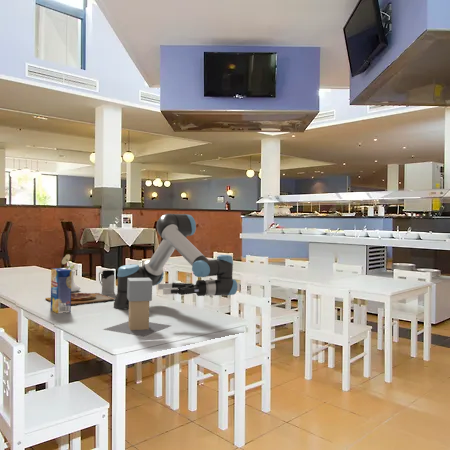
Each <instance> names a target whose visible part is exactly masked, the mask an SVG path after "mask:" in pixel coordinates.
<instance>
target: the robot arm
mask: <svg viewBox="0 0 450 450" xmlns="http://www.w3.org/2000/svg"><path fill="white" fill-rule="evenodd" d="M196 225H197V224H196V220H195V218H194V217H193V216H192V214H186V213H165V214H163V215H161V216H160V217H159V218H158V220H157V221H156V231H157V234H158V236H159V237H160V238H162V240H161V242H160V243H159V245H158V247H157V248H156V250H155V251H154V253H153V254H152V255H151V258H150V259H148V260H146V261H145V262H144V263H143V265H142V266H140V265H139V264H126V265H125V264H124V265H121V266H120V267H118V269H117V275H116V276H117V287H116V288H117V289H116V290H117V291H116V292H117V293H116V296H115V299H114V301H113V308H114V309H119V310H129V300H128V298H127V278H150V279H151V280H152V287H154V286H157V288H158V289H157V290H162V295H180V296H183V295H184V296H185V295H191V294H196V296H197V297H205V296H206V297H207V296H209V297H210V298H212V297H213V296H234V295H236V294H237V292H238V283H237V280H235V279H233V273H234V272H233V270H234V269H233V268H234V267H233V266H234V260H233V259H234V257H233V256H232V255H229V254H218V255H217V257H216V259H208V258H207V257H206V256H205V255H204V254H203V253H202V252H201V251H200V250H199V249H198V248H197V247H196V246H195V245H194V244H193V243H192V242H191V241H190V240H189V239H188V238H187V237H190V236H194V234H195V233H196V231H197V226H196ZM175 250H176V251H177V252H178V253H179V255H181V256H182V257H183V258H184V260H186V262H187V263H188V264H189V265H191V270H192V271H191V272H192V273H193V275H194V276H195V277H197V278H206V277H215V276H216V279H198V280H196V282H195V284H194V283H192V282H189V283H186V282H171V283H169V282H168V283H162V281H163V280H164V274H165V273H164V267H165V265H166V264H167V262H168V261H169V259H170V257H171V256H172V255H173V253H174V251H175Z"/></svg>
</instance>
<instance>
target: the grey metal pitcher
mask: <svg viewBox="0 0 450 450" xmlns="http://www.w3.org/2000/svg"><path fill="white" fill-rule="evenodd" d="M101 274H102V279H101V277H100V276H101ZM115 278H116V276H115V270H112V269H111V270H108V269H107V270H106V269H105V270H102V271H100V272H99V273H98V281H99V284H100V285H101V292H100V294H102V295H107V296H111V295H112V296H113V295H115V294H116V293H115Z"/></svg>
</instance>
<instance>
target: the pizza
mask: <svg viewBox="0 0 450 450" xmlns="http://www.w3.org/2000/svg"><path fill="white" fill-rule="evenodd" d="M115 298H116V297H115ZM115 298H114V297H112V296H110V295H102V294H101V292H94V293H93V292H92V293H91V292H74V293H73V292H71V306H81V305H82V306H84V305H90V304H91V305H93V304H101V303H105V302H108V301H113V300H114V301H115ZM45 300H46V301H48V302H49V303H51V297H45Z"/></svg>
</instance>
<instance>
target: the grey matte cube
mask: <svg viewBox="0 0 450 450" xmlns="http://www.w3.org/2000/svg"><path fill="white" fill-rule="evenodd" d="M127 298H128V300H129V301H149V302H151V301H152V300H153V286H152V280H151V279H150V278H127Z"/></svg>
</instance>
